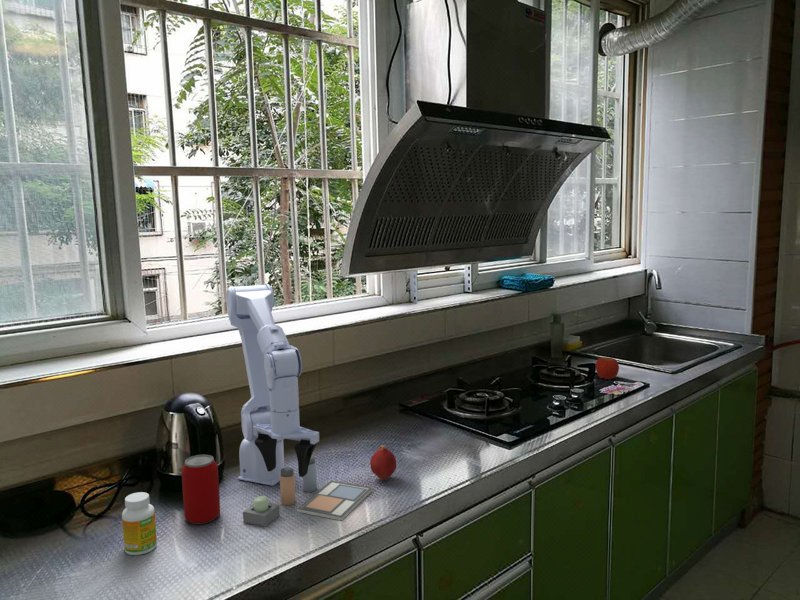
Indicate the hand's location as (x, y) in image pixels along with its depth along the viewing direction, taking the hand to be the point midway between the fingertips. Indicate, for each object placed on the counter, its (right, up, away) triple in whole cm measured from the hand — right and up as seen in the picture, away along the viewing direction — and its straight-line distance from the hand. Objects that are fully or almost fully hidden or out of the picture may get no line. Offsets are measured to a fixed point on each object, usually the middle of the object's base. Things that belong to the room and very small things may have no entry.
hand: (287, 472), depth 129 cm
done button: (-4, -7, -6) cm, 10 cm away
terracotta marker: (0, -6, +1) cm, 7 cm away
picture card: (+10, -6, +1) cm, 12 cm away
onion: (+19, -5, +11) cm, 23 cm away
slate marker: (+4, -6, +7) cm, 10 cm away
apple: (+95, +8, +91) cm, 132 cm away
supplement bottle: (-23, -9, -16) cm, 30 cm away
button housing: (-4, -7, -6) cm, 10 cm away
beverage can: (-16, -8, -5) cm, 18 cm away
